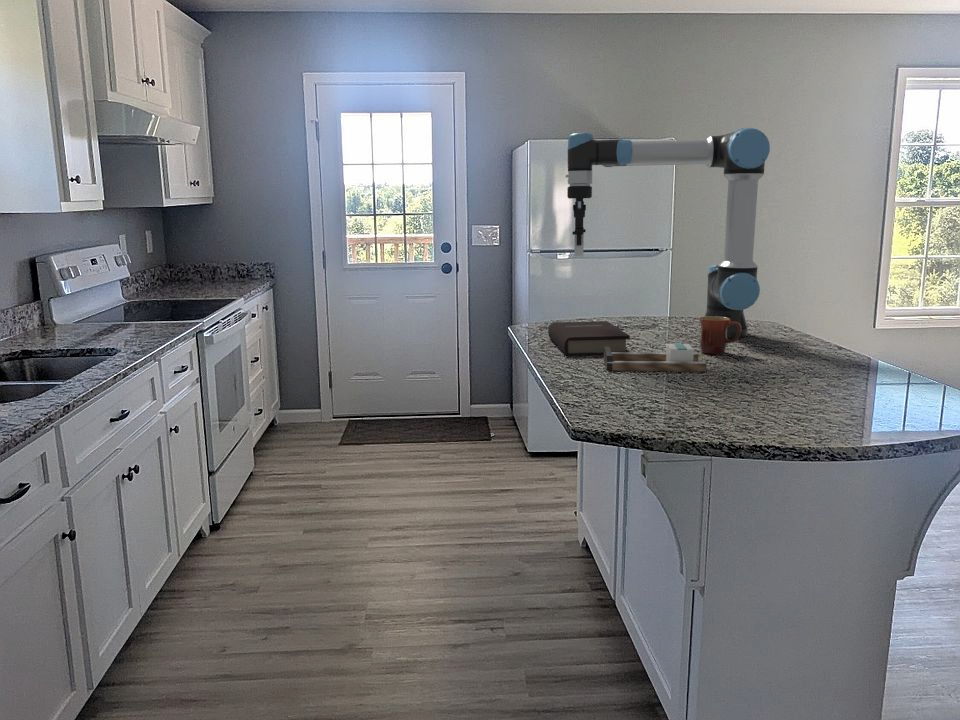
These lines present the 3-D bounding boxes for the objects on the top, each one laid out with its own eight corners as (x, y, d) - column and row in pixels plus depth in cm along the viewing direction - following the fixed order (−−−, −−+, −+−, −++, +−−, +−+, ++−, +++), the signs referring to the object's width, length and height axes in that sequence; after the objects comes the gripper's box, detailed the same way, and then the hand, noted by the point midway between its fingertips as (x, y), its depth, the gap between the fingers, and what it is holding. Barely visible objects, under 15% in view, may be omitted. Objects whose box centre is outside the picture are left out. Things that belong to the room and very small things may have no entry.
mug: (694, 354, 230) (696, 319, 228) (700, 349, 238) (701, 315, 235) (737, 357, 225) (739, 321, 223) (741, 352, 233) (743, 317, 231)
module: (687, 363, 219) (688, 343, 217) (692, 369, 211) (693, 348, 210) (665, 363, 219) (666, 343, 218) (670, 369, 211) (670, 348, 210)
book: (548, 340, 258) (548, 322, 256) (606, 338, 259) (607, 321, 258) (564, 357, 230) (564, 337, 229) (629, 355, 232) (629, 335, 231)
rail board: (697, 360, 221) (697, 346, 220) (706, 371, 208) (706, 356, 207) (603, 360, 223) (603, 346, 223) (606, 370, 210) (607, 355, 209)
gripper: (568, 186, 255) (567, 252, 259) (566, 185, 231) (566, 257, 235) (591, 185, 254) (590, 251, 259) (592, 184, 230) (591, 257, 234)
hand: (579, 254), depth 247 cm, fingers open, 13 cm apart
